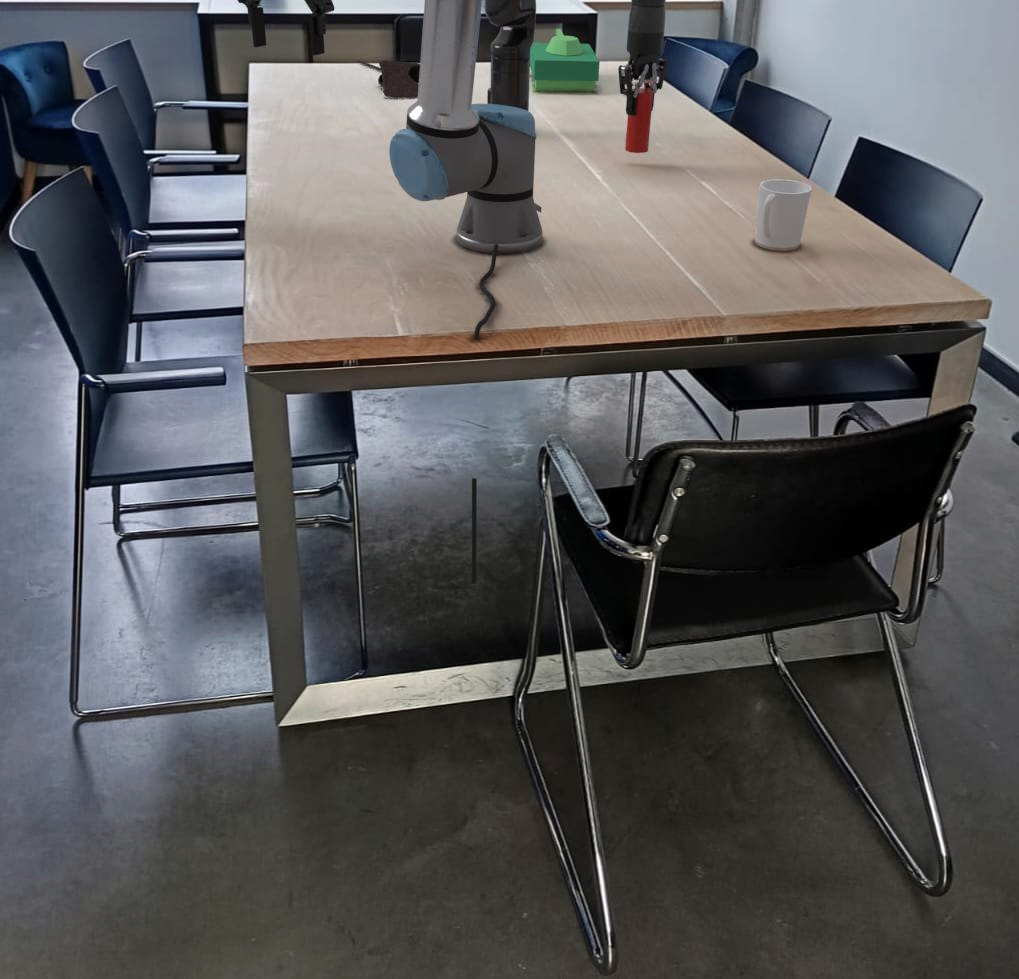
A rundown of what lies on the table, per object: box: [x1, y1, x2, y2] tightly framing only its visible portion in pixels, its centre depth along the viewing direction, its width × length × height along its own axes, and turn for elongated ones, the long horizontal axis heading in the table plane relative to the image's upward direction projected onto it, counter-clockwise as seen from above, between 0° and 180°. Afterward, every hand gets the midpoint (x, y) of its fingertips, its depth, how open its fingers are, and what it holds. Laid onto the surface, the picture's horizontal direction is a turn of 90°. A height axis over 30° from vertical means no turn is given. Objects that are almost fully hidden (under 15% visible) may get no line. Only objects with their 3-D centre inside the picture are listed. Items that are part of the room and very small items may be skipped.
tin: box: [624, 87, 653, 154], centre depth 236 cm, size 5×5×12 cm
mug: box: [754, 178, 812, 252], centre depth 194 cm, size 11×9×10 cm
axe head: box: [377, 59, 420, 99], centre depth 299 cm, size 18×8×15 cm
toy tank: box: [530, 28, 601, 92], centre depth 313 cm, size 18×12×35 cm
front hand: (288, 50), depth 200 cm, fingers open, 13 cm apart
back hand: (639, 112), depth 235 cm, fingers closed on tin, 5 cm apart
